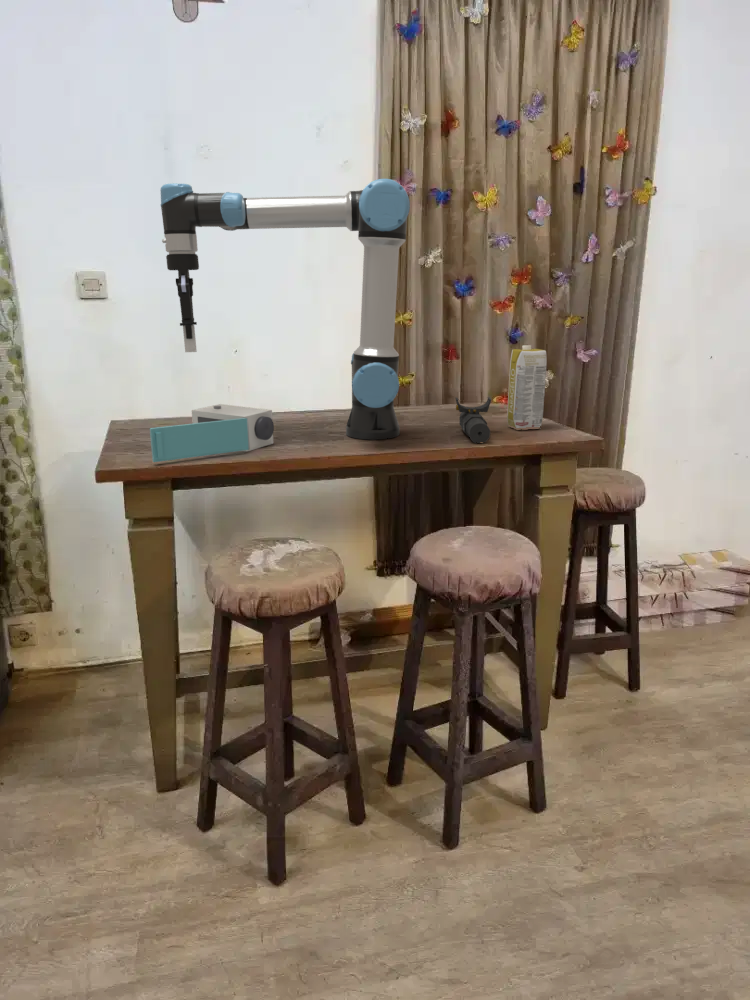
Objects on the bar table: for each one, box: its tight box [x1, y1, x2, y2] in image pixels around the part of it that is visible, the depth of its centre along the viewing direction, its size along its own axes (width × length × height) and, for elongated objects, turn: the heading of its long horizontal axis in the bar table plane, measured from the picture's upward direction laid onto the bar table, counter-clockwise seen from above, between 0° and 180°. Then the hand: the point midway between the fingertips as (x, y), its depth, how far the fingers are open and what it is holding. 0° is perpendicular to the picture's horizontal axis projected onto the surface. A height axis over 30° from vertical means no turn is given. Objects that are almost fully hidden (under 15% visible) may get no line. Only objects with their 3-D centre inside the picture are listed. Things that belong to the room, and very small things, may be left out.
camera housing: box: [191, 403, 275, 453], centre depth 192 cm, size 20×11×10 cm, turn 60°
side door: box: [149, 418, 250, 463], centre depth 177 cm, size 24×2×8 cm, turn 123°
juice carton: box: [506, 344, 548, 428], centre depth 210 cm, size 9×8×24 cm
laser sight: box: [454, 396, 492, 444], centre depth 203 cm, size 10×22×10 cm, turn 0°
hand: (191, 351), depth 183 cm, fingers closed
